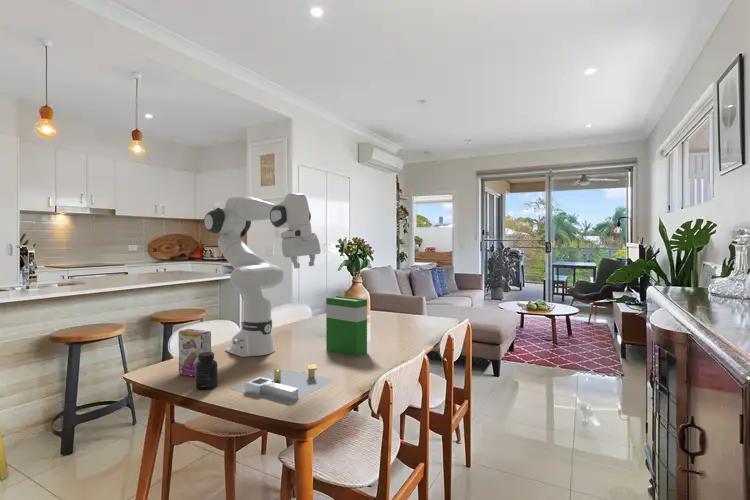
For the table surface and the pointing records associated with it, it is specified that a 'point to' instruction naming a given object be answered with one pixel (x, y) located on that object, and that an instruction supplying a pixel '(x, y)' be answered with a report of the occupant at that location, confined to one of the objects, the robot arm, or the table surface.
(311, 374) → the keeper
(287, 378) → the board
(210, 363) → the supplement bottle
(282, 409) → the table surface
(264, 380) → the link
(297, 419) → the table surface
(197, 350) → the candy bar box
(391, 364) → the table surface
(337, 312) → the hardback book
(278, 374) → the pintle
